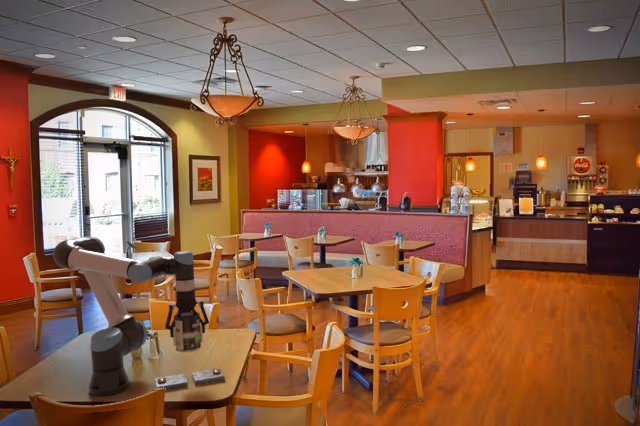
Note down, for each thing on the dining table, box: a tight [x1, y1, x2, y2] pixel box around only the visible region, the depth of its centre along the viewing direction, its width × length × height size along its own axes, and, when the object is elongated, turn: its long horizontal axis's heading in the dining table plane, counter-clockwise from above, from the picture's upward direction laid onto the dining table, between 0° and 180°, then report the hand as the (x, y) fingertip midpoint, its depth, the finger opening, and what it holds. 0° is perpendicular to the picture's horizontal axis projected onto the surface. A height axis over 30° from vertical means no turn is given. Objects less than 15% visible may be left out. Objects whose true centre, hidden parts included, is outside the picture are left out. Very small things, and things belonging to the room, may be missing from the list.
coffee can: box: [173, 311, 202, 353], centre depth 217 cm, size 10×10×14 cm
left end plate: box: [154, 373, 189, 391], centre depth 216 cm, size 12×10×3 cm
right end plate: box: [191, 367, 226, 386], centre depth 221 cm, size 12×10×3 cm
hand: (188, 342), depth 217 cm, fingers closed on coffee can, 10 cm apart
